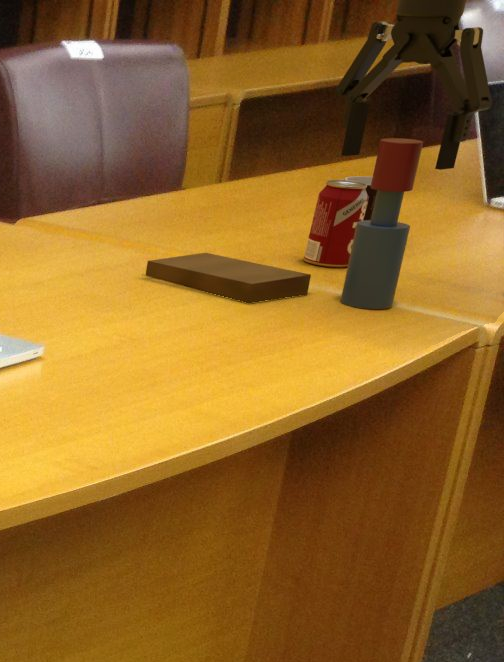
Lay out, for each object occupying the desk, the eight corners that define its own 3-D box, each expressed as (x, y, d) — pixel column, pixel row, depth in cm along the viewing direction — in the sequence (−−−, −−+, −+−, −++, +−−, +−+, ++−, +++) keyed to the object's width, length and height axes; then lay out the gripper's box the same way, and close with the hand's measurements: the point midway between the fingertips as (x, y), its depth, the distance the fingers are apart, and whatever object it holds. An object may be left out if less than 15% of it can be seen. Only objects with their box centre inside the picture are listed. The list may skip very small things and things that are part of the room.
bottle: (402, 305, 205) (429, 190, 198) (371, 311, 202) (397, 194, 196) (360, 296, 210) (384, 183, 203) (329, 302, 207) (353, 187, 201)
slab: (306, 296, 210) (311, 274, 209) (247, 306, 205) (252, 283, 204) (202, 273, 224) (205, 252, 223) (144, 282, 219) (147, 260, 218)
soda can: (308, 269, 226) (328, 185, 220) (297, 259, 232) (317, 177, 226) (356, 272, 225) (377, 188, 219) (344, 262, 231) (364, 180, 225)
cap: (420, 190, 199) (431, 141, 196) (396, 193, 196) (407, 144, 194) (386, 184, 203) (396, 137, 200) (362, 187, 200) (372, 139, 198)
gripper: (329, -21, 197) (295, 151, 206) (515, -14, 177) (468, 176, 187) (366, -22, 200) (331, 148, 209) (553, -15, 181) (505, 172, 190)
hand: (395, 162), depth 198 cm, fingers open, 13 cm apart
